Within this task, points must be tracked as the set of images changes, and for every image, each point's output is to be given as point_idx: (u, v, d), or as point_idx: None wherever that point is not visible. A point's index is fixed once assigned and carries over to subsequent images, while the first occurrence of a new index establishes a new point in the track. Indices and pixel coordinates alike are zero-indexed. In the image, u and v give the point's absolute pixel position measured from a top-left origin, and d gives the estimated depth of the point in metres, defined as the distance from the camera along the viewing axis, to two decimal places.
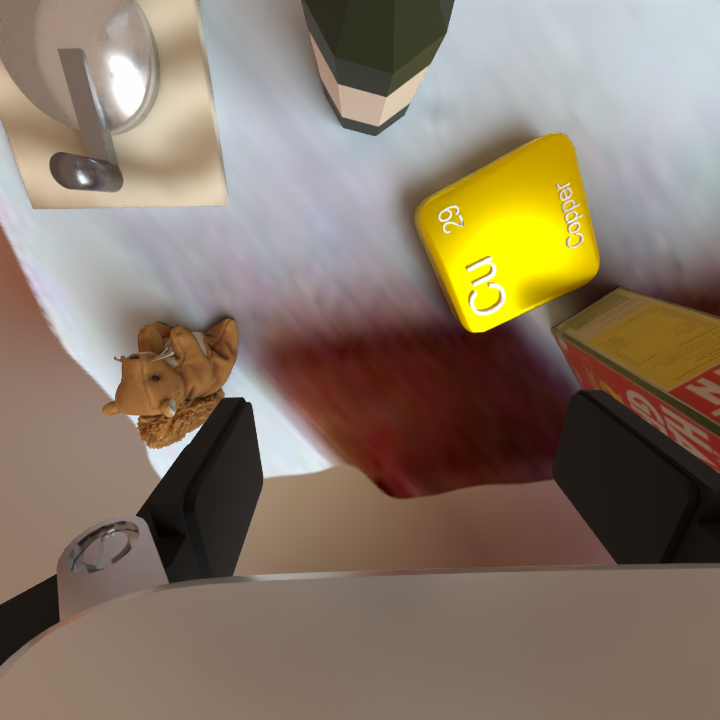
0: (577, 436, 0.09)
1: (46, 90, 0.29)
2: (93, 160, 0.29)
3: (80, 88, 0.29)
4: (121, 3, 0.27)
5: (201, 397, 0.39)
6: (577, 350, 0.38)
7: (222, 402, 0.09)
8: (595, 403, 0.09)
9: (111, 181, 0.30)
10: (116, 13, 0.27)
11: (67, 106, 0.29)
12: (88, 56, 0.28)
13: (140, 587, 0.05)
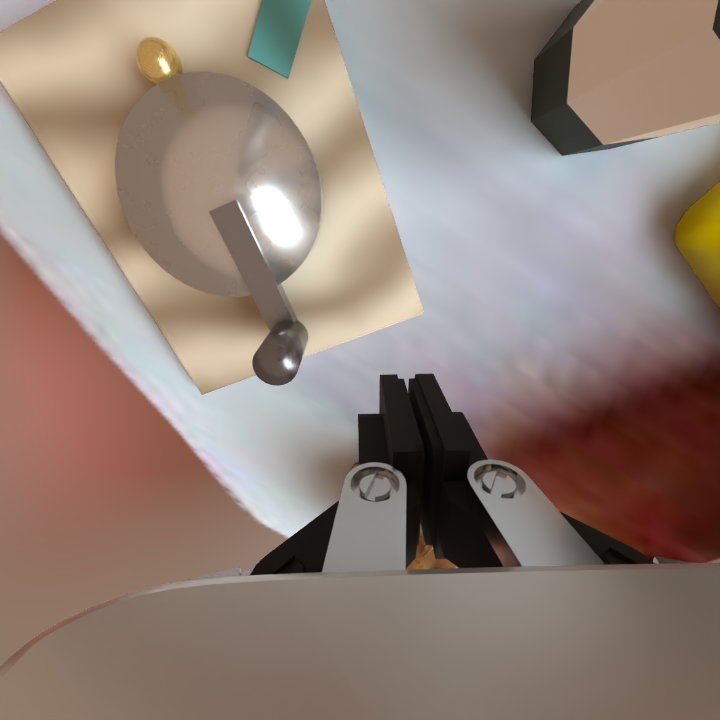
0: None
1: (202, 265, 0.22)
2: (288, 333, 0.21)
3: (244, 248, 0.21)
4: (274, 120, 0.19)
5: None
6: None
7: (384, 378, 0.10)
8: None
9: (305, 345, 0.23)
10: (270, 135, 0.20)
11: (230, 274, 0.23)
12: (245, 204, 0.21)
13: (385, 534, 0.06)
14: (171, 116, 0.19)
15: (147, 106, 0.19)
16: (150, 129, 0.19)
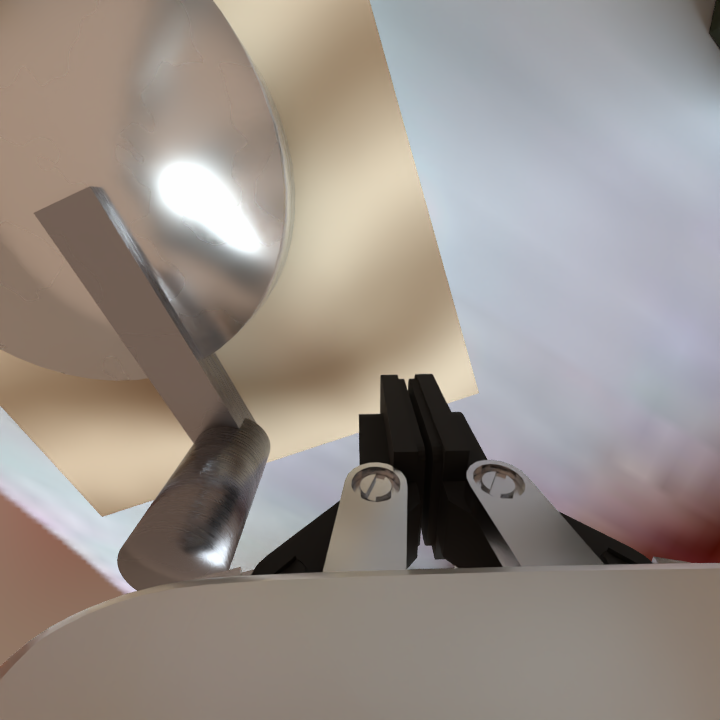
0: None
1: (47, 322, 0.11)
2: (216, 471, 0.10)
3: (123, 289, 0.10)
4: None
5: None
6: None
7: (384, 378, 0.10)
8: None
9: (259, 476, 0.12)
10: (156, 33, 0.08)
11: (105, 339, 0.11)
12: (117, 198, 0.10)
13: (386, 534, 0.06)
14: None
15: None
16: None
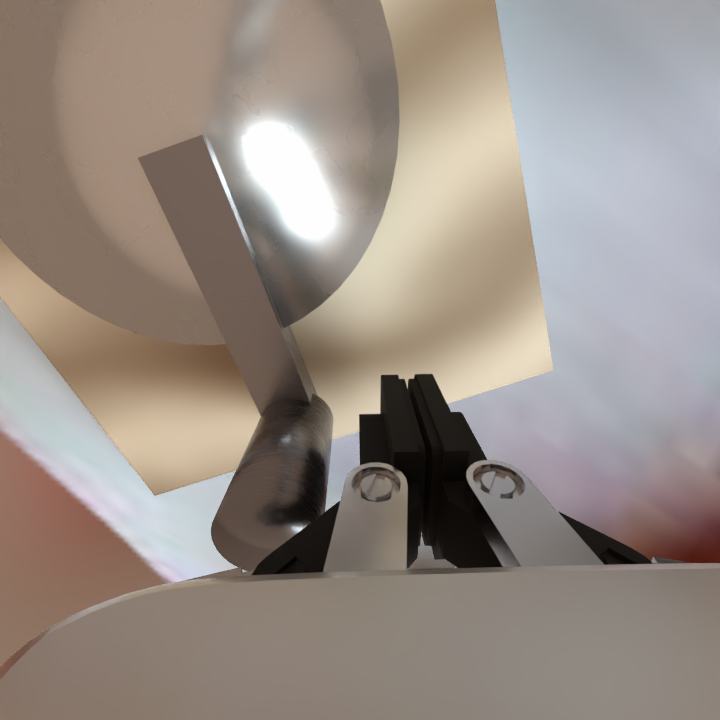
0: None
1: (126, 277, 0.10)
2: (302, 441, 0.10)
3: (217, 248, 0.10)
4: None
5: None
6: None
7: (385, 378, 0.10)
8: None
9: (330, 452, 0.11)
10: None
11: (185, 299, 0.11)
12: (224, 150, 0.09)
13: (386, 535, 0.06)
14: None
15: None
16: None
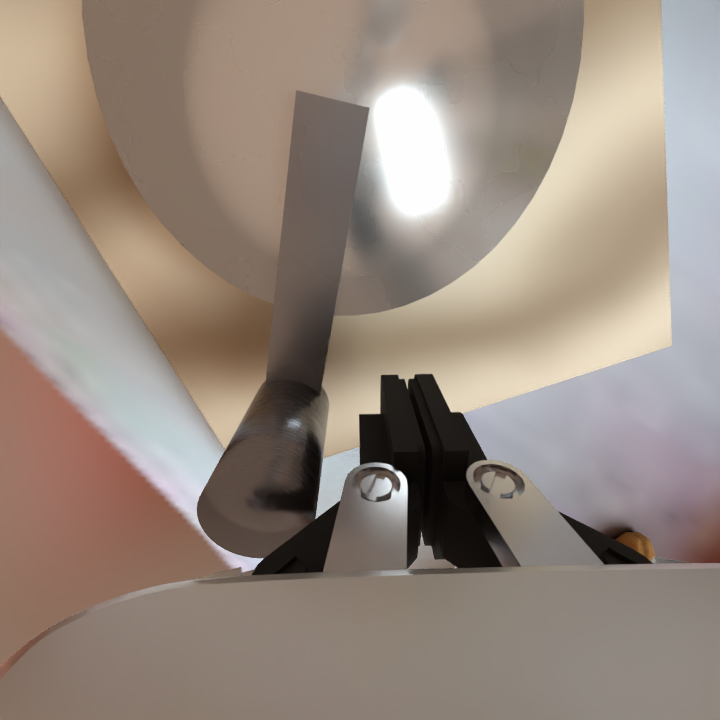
0: None
1: (208, 189, 0.09)
2: (313, 432, 0.09)
3: (320, 213, 0.09)
4: (553, 10, 0.08)
5: None
6: None
7: (385, 378, 0.10)
8: None
9: None
10: (521, 35, 0.08)
11: (255, 241, 0.10)
12: (376, 132, 0.09)
13: (387, 535, 0.06)
14: None
15: None
16: None
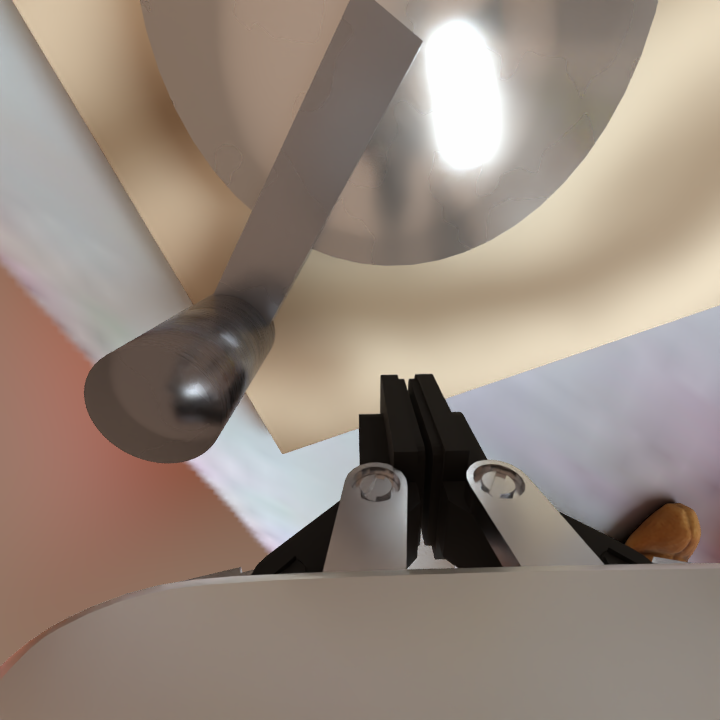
0: None
1: (224, 53, 0.08)
2: (248, 353, 0.09)
3: (335, 131, 0.09)
4: (620, 31, 0.08)
5: None
6: None
7: (384, 378, 0.10)
8: None
9: None
10: (585, 41, 0.08)
11: (256, 134, 0.09)
12: (420, 73, 0.09)
13: (386, 535, 0.06)
14: None
15: None
16: None
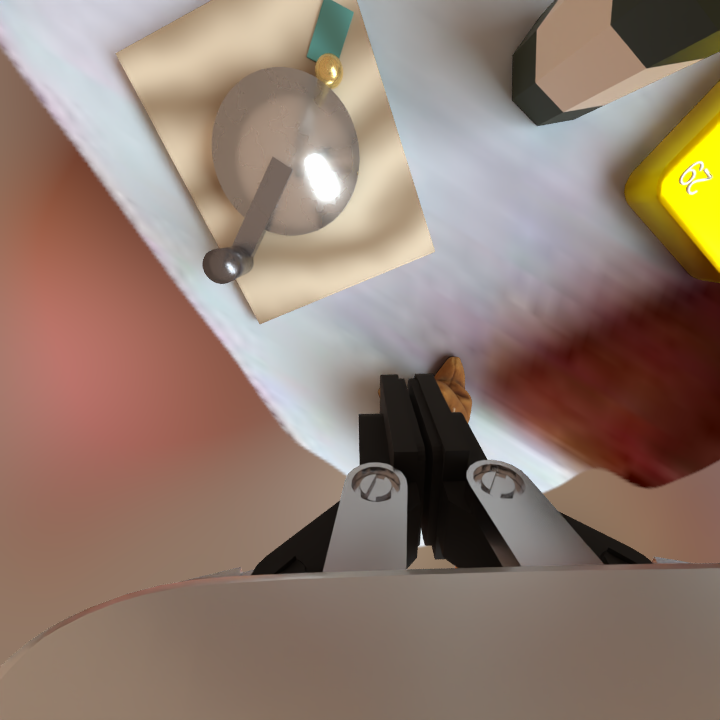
0: None
1: (236, 172, 0.29)
2: (243, 259, 0.29)
3: (269, 193, 0.29)
4: (350, 164, 0.29)
5: None
6: None
7: (384, 378, 0.10)
8: None
9: (243, 274, 0.30)
10: (341, 167, 0.29)
11: (245, 194, 0.29)
12: (294, 176, 0.29)
13: (386, 534, 0.06)
14: (307, 97, 0.27)
15: (301, 78, 0.27)
16: (290, 87, 0.27)
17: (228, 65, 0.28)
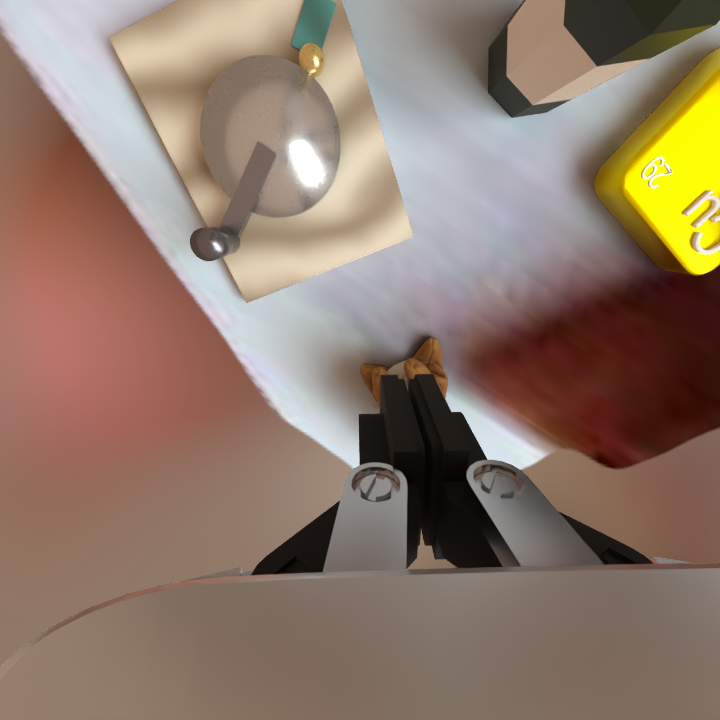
0: None
1: (223, 155, 0.30)
2: (229, 239, 0.31)
3: (254, 176, 0.31)
4: (332, 150, 0.30)
5: None
6: None
7: (384, 378, 0.10)
8: None
9: (230, 253, 0.32)
10: (323, 153, 0.30)
11: (232, 176, 0.31)
12: (278, 160, 0.31)
13: (386, 535, 0.06)
14: (290, 85, 0.28)
15: (285, 66, 0.28)
16: (274, 75, 0.28)
17: (216, 51, 0.29)
